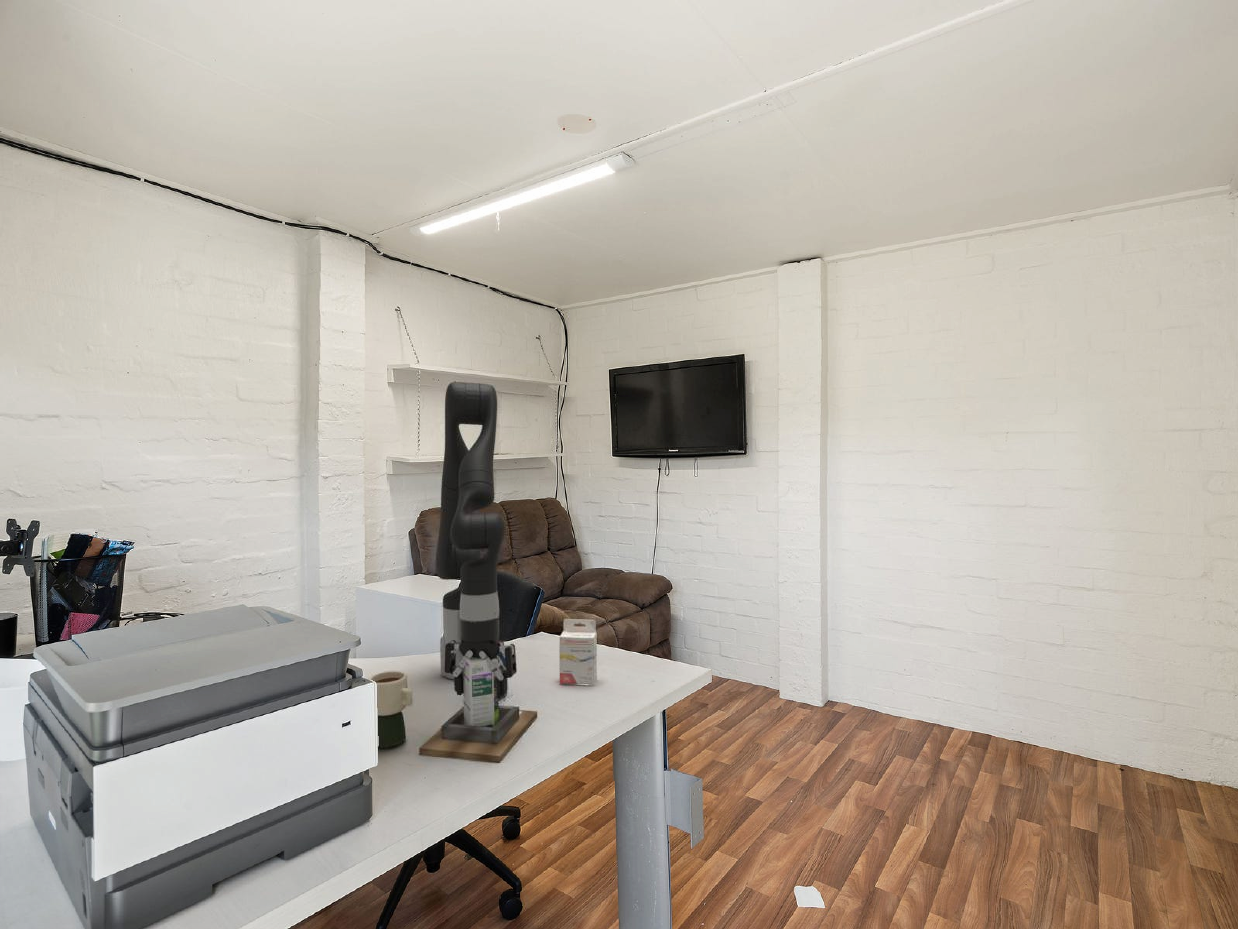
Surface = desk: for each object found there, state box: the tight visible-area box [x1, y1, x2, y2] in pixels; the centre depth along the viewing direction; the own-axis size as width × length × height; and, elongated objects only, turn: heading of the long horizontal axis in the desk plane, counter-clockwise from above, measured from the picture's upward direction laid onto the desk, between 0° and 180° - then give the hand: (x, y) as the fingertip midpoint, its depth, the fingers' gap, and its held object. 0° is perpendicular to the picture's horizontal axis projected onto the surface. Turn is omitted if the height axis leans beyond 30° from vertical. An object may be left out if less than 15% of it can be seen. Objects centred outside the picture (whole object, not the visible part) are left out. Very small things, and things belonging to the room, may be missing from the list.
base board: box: [418, 704, 538, 763], centre depth 129 cm, size 16×20×4 cm
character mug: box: [368, 670, 413, 748], centre depth 126 cm, size 11×7×13 cm, turn 70°
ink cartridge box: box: [559, 618, 598, 686], centre depth 157 cm, size 9×5×15 cm, turn 84°
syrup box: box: [462, 656, 500, 728], centre depth 129 cm, size 6×6×14 cm
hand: (480, 695), depth 129 cm, fingers open, 8 cm apart
